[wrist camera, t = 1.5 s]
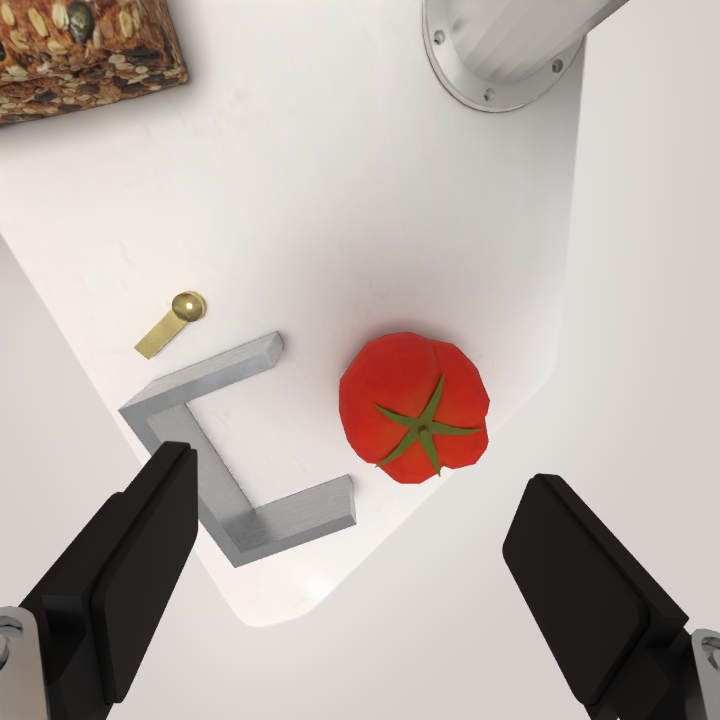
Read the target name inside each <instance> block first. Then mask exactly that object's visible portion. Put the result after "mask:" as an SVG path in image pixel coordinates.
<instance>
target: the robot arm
mask: <svg viewBox="0 0 720 720" xmlns="http://www.w3.org/2000/svg"><path fill="white" fill-rule="evenodd" d="M628 1H629V0H424V1H423V12H422V15H423V34H424V39H425V43H426V48H427V53H428V55H429V58H430V61H431V63H432V66H433V68H434V70H435V72H436V74H437V75H438V77H439V79H440V80H441V82H442V84H443V85H444V86H445V87H446V88H447V89H448V90H449V92H450V93H451V94H452V95H453V96H454V97H456V98H457V99H458V100H460V101H461V102H463V103H464V104H465V105H468V106H470V107H473V108H475V109H478V110H482V111H488V112H502V111H509V110H512V109H516V108H519V107H522V106H524V105H525V104H527V103H529V102H531V101H533V100H535V99H536V98H538V97H539V96H540V95H542V94H543V93H545V92H546V91H547V90H548V89H550V88H551V87H552V86H553V85H554V84H555V83H556V82H557V81H558V80H559V79H560V78H561V76H562V75H563V74H564V72H565V71H566V70H567V68H568V67H569V66H570V64H571V63H572V61H573V59H574V57H575V56H576V54H577V52H578V50H579V48H580V46H581V44H582V41H583V38H584V36H585V35H586V34H587V33H588V32H589V31H591V30H592V29H593V28H594V27H596V26H597V25H598V24H600V23H601V22H602V21H603V20H605V19H606V18H607V17H609V16H610V15H611V14H612V13H614V12H615V11H616V10H617V9H619V8H620V7H621V6H623V5H624V4H625V3H626V2H628ZM434 40H438V42H439V45H438V44H436V43H435V41H434ZM552 69H553V70H552ZM484 96H487V98H488V101H486V100H485V98H484ZM197 532H198V453H197V450H196V449H191V445H190V443H187V442H176V441H164V442H163V443H162V445H161V446H160V447H159V448H158V450H157V451H156V452H155V453H154V455H153V456H152V457H151V458H150V460H149V461H148V462H147V463H146V465H145V466H144V467H143V468H142V470H141V471H140V472H139V473H138V475H137V476H136V477H135V478H134V480H133V481H132V482H131V483H130V485H129V486H128V487H127V488H126V490H125V491H124V492H117V493H115V494H113V495H112V496H111V497H110V498H109V499H108V500H107V501H106V502H105V503H104V505H103V506H102V507H101V508H100V509H99V511H98V512H97V513H96V514H95V515H94V516H93V518H92V519H91V520H90V521H89V522H88V524H87V525H86V526H85V527H84V528H83V530H82V531H81V532H80V533H79V534H78V535H77V537H76V538H75V539H74V541H72V543H71V544H70V545H69V546H68V548H67V549H66V550H65V551H64V552H63V553H62V555H61V556H60V557H59V558H58V560H57V561H56V562H55V563H54V564H53V565H52V567H51V568H50V569H49V570H48V571H47V573H46V574H45V575H44V576H43V577H42V579H41V580H40V581H39V582H38V583H37V585H36V586H35V587H34V588H33V589H32V591H31V592H30V593H29V594H28V595H27V596H26V598H25V599H24V600H23V601H22V602H21V604H20V605H19V606H18V607H12V606H7V607H1V608H0V720H106V718H107V716H108V714H109V712H110V710H111V708H112V705H113V703H121V702H122V701H123V700H124V698H125V697H126V695H127V693H128V691H129V689H130V686H131V684H132V682H133V680H134V677H135V675H136V673H137V671H138V668H139V666H140V664H141V662H142V659H143V657H144V655H145V653H146V650H147V648H148V646H149V644H150V642H151V639H152V637H153V635H154V632H155V630H156V628H157V626H158V624H159V621H160V619H161V617H162V615H163V612H164V610H165V608H166V606H167V603H168V601H169V599H170V597H171V594H172V592H173V590H174V588H175V585H176V583H177V581H178V578H179V576H180V574H181V572H182V569H183V567H184V565H185V563H186V560H187V558H188V556H189V554H190V552H191V549H192V547H193V545H194V543H195V540H196V537H197ZM502 551H503V557H504V560H505V562H506V564H507V566H508V567H509V570H510V571H511V573H512V575H513V577H514V579H515V581H516V583H517V585H518V587H519V589H520V591H521V593H522V595H523V597H524V599H525V601H526V603H527V605H528V607H529V609H530V611H531V613H532V614H533V616H534V618H535V620H536V622H537V624H538V626H539V628H540V630H541V632H542V634H543V636H544V638H545V640H546V642H547V644H548V646H549V648H550V650H551V652H552V654H553V655H554V657H555V659H556V661H557V663H558V665H559V667H560V669H561V671H562V673H563V675H564V677H565V679H566V681H567V683H568V685H569V687H570V689H571V691H572V693H573V694H574V696H575V697H576V699H577V700H578V701H579V702H580V703H582V704H583V705H584V707H585V709H586V711H587V713H588V715H589V717H590V719H591V720H617V719H618V717H619V719H620V720H720V633H718V632H716V631H712V630H708V629H696V630H695V631H694V632H693V633H692V634H691V635H690V634H689V633H688V632H687V631H686V630H685V629H684V628H683V627H684V625H685V624H686V623H687V621H688V620H689V617H688V616H687V615H686V614H685V613H684V612H683V611H682V609H681V608H680V607H679V606H678V605H677V604H676V603H675V602H674V601H673V600H672V598H671V597H670V596H669V595H668V594H667V593H666V592H665V591H664V590H663V588H662V587H661V586H660V585H659V584H658V583H657V582H656V581H655V580H654V579H653V578H652V576H651V575H650V574H649V573H648V572H647V571H646V570H645V569H644V568H643V567H642V565H641V564H640V563H639V562H638V561H637V560H636V559H635V558H634V557H633V555H632V554H631V553H630V552H629V551H628V550H627V549H626V548H625V547H624V546H623V545H622V544H621V542H620V541H619V540H618V539H617V538H616V537H615V536H614V535H613V534H612V532H610V530H609V529H608V528H607V527H606V526H605V525H604V524H603V523H602V521H601V520H600V519H599V518H598V517H597V516H596V515H595V514H594V513H593V512H592V510H591V509H590V508H589V507H588V506H587V505H586V504H585V503H584V502H583V500H582V499H581V498H580V497H579V496H578V495H577V494H576V493H575V492H574V491H573V489H572V488H571V487H570V486H569V485H568V484H567V483H566V482H565V481H564V480H563V479H562V478H561V477H560V476H558V475H552V474H541V473H539V474H536V475H535V476H534V477H533V478H531V479H530V480H529V481H528V484H527V486H526V489H525V491H524V494H523V496H522V499H521V501H520V504H519V506H518V509H517V511H516V514H515V516H514V519H513V521H512V524H511V526H510V529H509V531H508V534H507V536H506V539H505V541H504V544H503V549H502Z"/></svg>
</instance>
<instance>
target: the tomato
mask: <svg viewBox="0 0 720 720" xmlns="http://www.w3.org/2000/svg"><path fill="white" fill-rule="evenodd" d="M489 402H490V399H489V397H488V395H487V392H486V390H485V388H484V385H483V383H482V380H481V377H480V374H479V372H478V370H477V368H476V367H475V366H474V364H473V363H472V362H471V361H470V360H469V359H468V358H467V357H466V355H465V354H464V353H463V352H462V351H461V350H460V349H459V348H457V347H456V346H454V345H453V344H450V343H444V342H439V341H433V340H429V339H426V338H424V337H421V336H418V335H416V334H413V333H400V334H392V335H386V336H383V337H381V338H378V339H376V340H374V341H371V342H369V343H367V344H366V345H365V346H364V348H363V349H362V350H361V352H360V353H359V354H358V356H357V357H356V358H355V360H354V361H353V362H352V364H351V365H350V367H349V368H348V370H347V371H346V372H345V374H344V375H343V377H342V378H341V379H340V386H339V412H340V417H341V421H342V424H343V427H344V431H345V434H346V437H347V440H348V442H349V443H350V445H351V447H352V448H353V449H354V450H355V452H356V453H357V455H358V456H359V457H360V458H362V459H363V460H364V461H366V462H367V463H373V464H377V466H379V467H380V468H381V469H382V470H383V471H385V472H386V473H387V474H388V475H389V476H390V477H391V478H393V479H394V480H395V481H397V482H399V483H401V484H420V483H422V482H424V481H425V480H427V479H429V478H430V477H432V476H434V475H436V474H437V473H438V475H439V476H440V470H441V467H443V466H446V467H448V468H451V469H456V468H461V467H464V466H469V465H473V464H475V463H476V462H477V461H478V460H479V458H480V457H481V456H482V454H483V453H484V451H485V450H486V448H487V445H488V442H489V441H488V435H487V429H486V422H485V416H486V415H487V412H488V407H489ZM377 466H375V467H377ZM375 467H374V468H375Z"/></svg>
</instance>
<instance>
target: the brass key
mask: <svg viewBox="0 0 720 720" xmlns="http://www.w3.org/2000/svg"><path fill="white" fill-rule="evenodd" d="M205 311H206V304H205V301H204V299H203V298H202V297H201V296H200V295H199V294H197V293H195V292H190V291H188V292H184V293H181V294H179V295H177V296H176V297H175V298H174V299H173V302H172V310H171V311H170V312H169V313H168V314H167V315H166V316H165V317H164V318H163V319H162V320H161V321H160V322H159V323H158V324H157V325H156V326H155V327H154V328H153V329H152V330H151V331H150V332H149V333H148V334H147V335H146V336H145V337H144V338H143V339H142V340H141V341H140V342H139V343H138V344H137V345H136V346H135V347H134V348H135V349H136V350H137V351H138V352H140V353H141V354H142V355H143V356H144V357H146V358H147V359H148V360H149V359H150V358H152V357H153V356H154V355H155V354H156V353H157V352H158V351H159V350H160V349H161V348H162V347H163V346H164V345H165V344H166V343H167V342H168V341H169V340H170V339H171V338H172V337H173V336H174V335H175V334H176V333H177V332H178V331H179V330H180V329H181V328H182V327H183V326H184V325H186V324H187V323H188V322H193V321H195V320H197V319H199V318H200V317H202V316H203V315H204V313H205Z"/></svg>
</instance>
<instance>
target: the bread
mask: <svg viewBox="0 0 720 720" xmlns="http://www.w3.org/2000/svg"><path fill="white" fill-rule="evenodd" d="M187 78H188V72H187V70H186V66H185V63H184V61H183V59H182V56H181V53H180V48H179V43H178V40H177V37H176V34H175V31H174V29H173V26H172V23H171V20H170V17H169V15H168V12H167V6H166V4H165V1H164V0H0V125H3V124H7V123H11V122H18V121H28V120H33V119H37V118H40V119H43V118H44V117H46V116H48V115H57V114H66V113H68V112H69V111H76V110H83V109H88V108H92V107H97V106H101V105H105V104H110V103H115V102H117V101H119V100H120V99H121V98H134V97H136V96H138V95H143V94H148V93H150V92H151V91H152V90H155V91H158V90H161V89H163V88H166V87H170V86H176V85H178V84H179V83H181V82H186V80H187Z"/></svg>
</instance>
